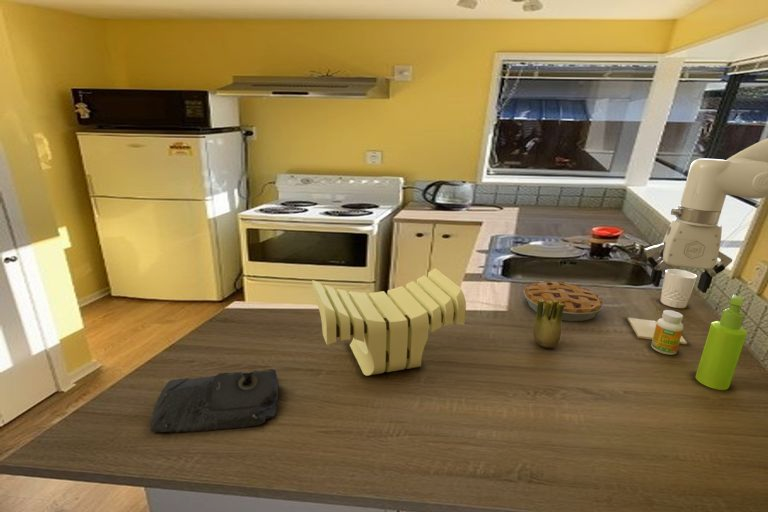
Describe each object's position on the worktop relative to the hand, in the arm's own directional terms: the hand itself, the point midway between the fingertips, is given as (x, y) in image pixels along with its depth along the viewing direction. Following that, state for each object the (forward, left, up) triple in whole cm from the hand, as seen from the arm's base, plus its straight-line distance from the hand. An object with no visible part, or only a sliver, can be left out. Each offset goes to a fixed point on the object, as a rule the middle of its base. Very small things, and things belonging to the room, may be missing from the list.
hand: (677, 287), depth 99 cm
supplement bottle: (0, 0, -17) cm, 17 cm away
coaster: (-1, -10, -16) cm, 19 cm away
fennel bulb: (+28, +7, -17) cm, 33 cm away
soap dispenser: (-6, +13, -17) cm, 22 cm away
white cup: (-12, -32, -17) cm, 38 cm away
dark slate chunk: (+90, +50, -17) cm, 104 cm away
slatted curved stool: (+64, +25, -17) cm, 70 cm away
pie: (+22, -18, -17) cm, 33 cm away
